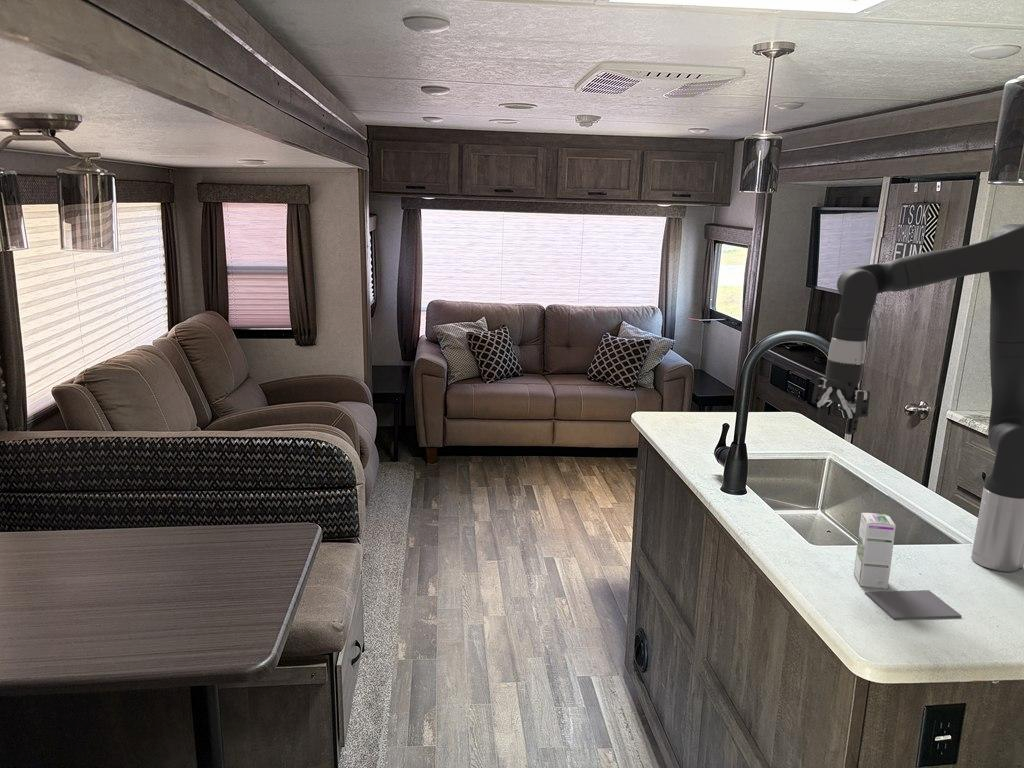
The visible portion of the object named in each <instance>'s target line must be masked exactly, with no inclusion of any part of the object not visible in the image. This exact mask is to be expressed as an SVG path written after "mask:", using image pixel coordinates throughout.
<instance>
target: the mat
mask: <svg viewBox="0 0 1024 768" xmlns="http://www.w3.org/2000/svg"><path fill="white" fill-rule="evenodd" d="M864 595H865V596H867V597H868V598H869V599H870V600H872V602H874V603H875V604H876V605H877V606H878V607H879V608H880V609H881V610H883V612H884V613H886V614H887V615H888V617H890V618H891V619H893V620H914V619H915V620H918V619H919V620H920V619H949V618H952V619H953V618H962V614H961V613H960V612H958V611H957V610H955V608H952V606H950V605H949V604H947V603H946V602H945V601H944V600H942V599H941V598H940V597H939V596H937V595H936V594H934V593H933V591H931V590H929V589H925V590H918V589H917V590H889V591H888V590H885V591H884V590H883V591H880V590H879V591H865V592H864Z"/></svg>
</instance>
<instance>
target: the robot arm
mask: <svg viewBox="0 0 1024 768" xmlns="http://www.w3.org/2000/svg"><path fill="white" fill-rule="evenodd" d="M983 273H988V279H989V287H990V301H989V302H990V304H989V307H990V308H989V362H990V363H989V364H990V385H991V402H990V403H991V405H990V415H989V420H988V421H989V423H988V431H987V440H988V444H989V446H990V448H991V449H992V451H993V452H994V453H995V458H994V459H995V460H994V463H993V467H992V471H991V472H990V473H988V474H986V476H985V478H984V482H983V483H984V484H983V488H982V495H981V500H980V505H979V506H980V507H979V512H978V518H977V523H976V527H975V533H974V540H973V545H972V551H971V560H972V561H973V562H975V563H976V564H978V565H980V566H981V567H985V568H988V569H990V570H993V571H999V572H1008V573H1009V572H1017V571H1018V570H1019V569H1023V568H1024V224H1017V223H1016V224H1015V223H1013V224H1005V225H1001V226H1000V227H998V228H996V229H995V230H994V231H993V232H992V233H991V234H990V236H989V237H988V238H987V239H986V240H984V241H980V242H976V243H972V244H968V245H964V246H958V247H950V248H945V249H937V250H931V251H925V252H921V253H915V254H912V255H907V256H903V257H899V258H895V259H891V260H888V261H886V262H885V261H884V262H878V263H873V264H872V263H871V264H870V263H869V264H865V265H864V264H863V265H859V266H856V267H850V268H848V269H847V270H844V271H843V272H841V274H840V275H839V277H838V279H837V282H836V287H837V291H838V293H839V294H840V295H841V301H840V306H839V311H838V312H837V313H836V315H835V318H834V322H833V328H832V335H831V336H832V337H831V340H830V343H829V348H828V355H827V360H826V361H827V362H826V368H825V375H824V376H825V377H816V378H815V382H814V385H813V386H814V387H813V392H812V396H811V397H812V398H811V402H812V403H814V404H816V405H817V406H816V407H817V413H816V414H817V416H816V420H817V423H818V424H820V425H821V424H823V425H825V424H826V423H828V417H829V416H828V414H829V411H830V410H829V409H830V408H829V406H830V405H831V404H832V403H837V404H839V405H842V408H843V410H845V412H846V414H847V419H846V424H845V429H844V430H845V432H844V433H845V434H846V435H848V436H849V435H851V436H852V435H855V433H856V432H857V430H858V423H859V419H863V418H867V417H868V415H869V407H870V406H869V405H870V396H871V393H870V391H869V390H862V389H861V390H860V389H859V384H860V382H861V381H862V379H863V371H864V366H865V360H866V352H867V338H868V333H869V324H870V322H869V321H870V318H871V315H872V313H873V309H874V306H875V305H876V304H875V303H876V301H877V296H878V294H882V293H887V292H893V293H895V292H896V293H898V292H904V291H909V290H913V289H916V288H917V289H918V288H921V287H925V286H929V285H933V284H937V283H941V282H946V281H949V280H950V281H951V280H954V279H957V278H963V277H967V276H972V275H977V274H983Z"/></svg>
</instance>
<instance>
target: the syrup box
mask: <svg viewBox="0 0 1024 768" xmlns="http://www.w3.org/2000/svg"><path fill="white" fill-rule="evenodd" d="M896 528H897V525H896V523H895V522H894V521H893V520H892V518H891V517H890V515H889V514H886V513H885V514H884V513H877V512H861V514H860V523H859V529H858V536H857V537H858V538H857V539H858V540H857V545H856V553H855V561H854V570H853V575H854V577H855V579H856V581H857V583H858V585H859V586H860V587H866V588H873V589H874V588H875V589H882V590H884V589H885V590H887V589H888V587H889V580H890V573H891V565H892V558H893V552H894V551H893V549H894V543H895V535H896V534H895V533H896Z"/></svg>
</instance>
